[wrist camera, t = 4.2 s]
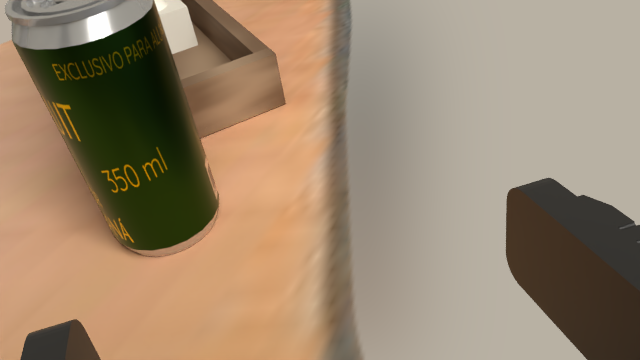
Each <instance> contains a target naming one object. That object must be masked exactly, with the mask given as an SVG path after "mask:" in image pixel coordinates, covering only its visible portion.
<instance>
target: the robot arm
mask: <svg viewBox="0 0 640 360" xmlns="http://www.w3.org/2000/svg"><path fill="white" fill-rule="evenodd" d="M506 257H507V261H508V265H509V268H510V270H511V273H512V275H513V276H514V278H515V280H516V281H517V283H518V284H519V285H520V286H521V287H522V288H523V289H524V290H525V291H526V293H527V294H528V295H529V296H530V297H531V298H532V299H533V300H534V302H536V303H537V305H538V306H539V307H540V308H541V309H542V310H543V311H544V313H545V314H546V315H547V316H548V317H549V318H550V319H551V320H552V321H553V322H554V324H556V326H557V327H558V328H559V329H560V330H561V331H562V332H563V333H564V335H566V337H567V338H568V339H569V340H570V341H571V342H572V343H573V344H574V345H575V347H576V348H577V349H578V350H579V351H580V352H581V353H582V354H583V355H584V357H585V358H586V359H587V360H640V225H637V226H636V225H635V223H634V221H633V220H631V219H630V218H629V217H627V216H626V215H624V214H623V213H622V212H620V211H619V210H617V209H616V208H614V207H613V206H611V205H609V204H606V203H603V202H601V201H598V200H595V199H593V198H590V197H587V196H585V195H581V196H578V197H577V196H576V195H574V194H573V193H572V192H570V191H569V190H568V189H566V188H565V187H563V186H562V185H561V184H560V183H558V182H557V181H555V180H554V179H551V178H546V179H542V180H539V181H536V182H532V183H529V184H526V185H522V186H519V187H516V188H512V189H511V190H510V191H509V192H508V196H507V213H506ZM21 360H101V359H100V357H99V355H98V353H97V352H96V350H95V348H94V346H93V344H92V342H91V340H90V338H89V336H88V334H87V332H86V331H85V329H84V327H83V325H82V324H81V323H80V322H79V321H78V320H76V319H75V320H71V321H68V322H65V323H61V324H58V325H55V326H51V327H48V328H45V329H41V330H38V331H35V332H32V333H29V334H28V336H27V337H26V340H25V344H24V348H23V352H22V356H21Z"/></svg>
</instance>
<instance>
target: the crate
mask: <svg viewBox="0 0 640 360" xmlns="http://www.w3.org/2000/svg"><path fill="white" fill-rule="evenodd" d="M181 1H182V2H183V3H184V4H185V5H186V6H187V8H188V12H189V15H190V18H191V22H192V25H193V29H194V32H195V35H196V39H197V42H198V45H197V46H194V47H191V48H189V49H186V50H183V51H180V52H177V53H174V54H172V55H173V58H174V61H175V65H176V68H177V71H178V74H179V77H180V80H181V83H182V86H183V89H184V92H185V95H186V98H187V101H188V104H189V107H190V110H191V113H192V116H193V119H194V122H195V125H196V128H197V131H198V134H199V137H200V138H202V137H205V136H207V135H210V134H212V133H214V132H217V131H219V130H222V129H224V128H227V127H229V126H232V125H234V124H237V123H239V122H242V121H244V120H247V119H249V118H252V117H254V116H256V115H259V114H261V113H264V112H266V111H269V110H271V109H274V108H276V107H279V106H281V105H284V104H286V103H285V98H284V93H283V88H282V83H281V78H280V73H279V68H278V63H277V59H276V54H275V53H274V52H273V51H272V50H271V49H269V48H268V47H267V46H266V45H265V44H264V43H262V42H261V41H260V40H259V39H258V38H256V37H255V36H254V35H253V34H252V33H250V32H249V31H248V30H247V29H246V28H245V27H243V26H242V25H241V24H240V23H239V22H237V21H236V20H235V19H234V18H233V17H231V16H230V15H229V14H228V13H227V12H226V11H224V10H223V9H222V8H221V7H220V6H218V5H217V4H216V3H215V2H214V1H212V0H181Z"/></svg>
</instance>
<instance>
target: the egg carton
mask: <svg viewBox="0 0 640 360" xmlns="http://www.w3.org/2000/svg"><path fill="white" fill-rule="evenodd" d="M154 1H155V4H156V7H157V10H158V13H159V16H160V19H161V22H162V25H163V28H164V31H165V34H166V37H167V40H168V43H169V46H170V49H171V52H172V54H174V53H177V52H180V51H183V50H186V49H189V48H191V47H194V46H197V45H198V42H197V39H196V35H195V32H194V29H193V25H192V22H191V18H190V15H189V12H188V8H187V6H186V5H185V4H184V3H183V2H182V1H181V0H154Z"/></svg>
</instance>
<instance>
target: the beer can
mask: <svg viewBox="0 0 640 360" xmlns="http://www.w3.org/2000/svg"><path fill="white" fill-rule="evenodd" d="M5 13H6V15H7V17H8V19H9V20H11V21H12V41H13V43H14V45H15V47H16V49H17V51H18V53H19V55H20V57H21V59H22V61H23V62H24V64H25V66H26V68H27V70H28V72H29V74H30V76H31V78H32V80H33V82H34V83H35V85H36V87H37V89H38V91H39V93H40V95H41V97H42V99H43V101H44V103H45V105H46V106H47V108H48V110H49V112H50V114H51V116H52V118H53V120H54V122H55V124H56V126H57V128H58V129H59V131H60V133H61V135H62V137H63V139H64V141H65V143H66V145H67V147H68V149H69V150H70V152H71V154H72V156H73V158H74V160H75V162H76V164H77V166H78V168H79V170H80V172H81V173H82V175H83V177H84V179H85V181H86V183H87V185H88V187H89V189H90V191H91V193H92V195H93V196H94V198H95V200H96V202H97V204H98V206H99V208H100V210H101V212H102V214H103V216H104V217H105V219H106V221H107V223H108V225H109V227H110V229H111V231H112V233H113V235H114V237H115V238H116V239H117V240H118V241H119V242H120V243H121V244H122V245H124V246H125V247H127V248H129V249H130V250H132V251H134V252H136V253H139V254H141V255H144V256H158V257H159V256H165V255H170V254H175V253H177V252H180V251H182V250H184V249H187V248H189V247H191V246H192V245H194V244H195V243H197V242H198V241H200V240H201V239H202V238H203V237H204V236H205V235H206V234H207V233H208V232H209V231H210V229H211V228H212V226H213V224H214V222H215V219H216V217H217V212H218V207H219V194H218V191H217V188H216V185H215V182H214V179H213V176H212V173H211V170H210V167H209V164H208V161H207V158H206V155H205V152H204V149H203V146H202V143H201V140H200V137H199V134H198V131H197V128H196V125H195V122H194V119H193V116H192V113H191V110H190V107H189V104H188V101H187V98H186V95H185V92H184V89H183V86H182V83H181V80H180V77H179V74H178V71H177V68H176V65H175V61H174V58H173V55H172V52H171V49H170V46H169V43H168V40H167V37H166V34H165V31H164V28H163V25H162V22H161V19H160V16H159V13H158V10H157V7H156V4H155V1H154V0H9V1H8V2H7V4H6V5H5Z"/></svg>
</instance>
